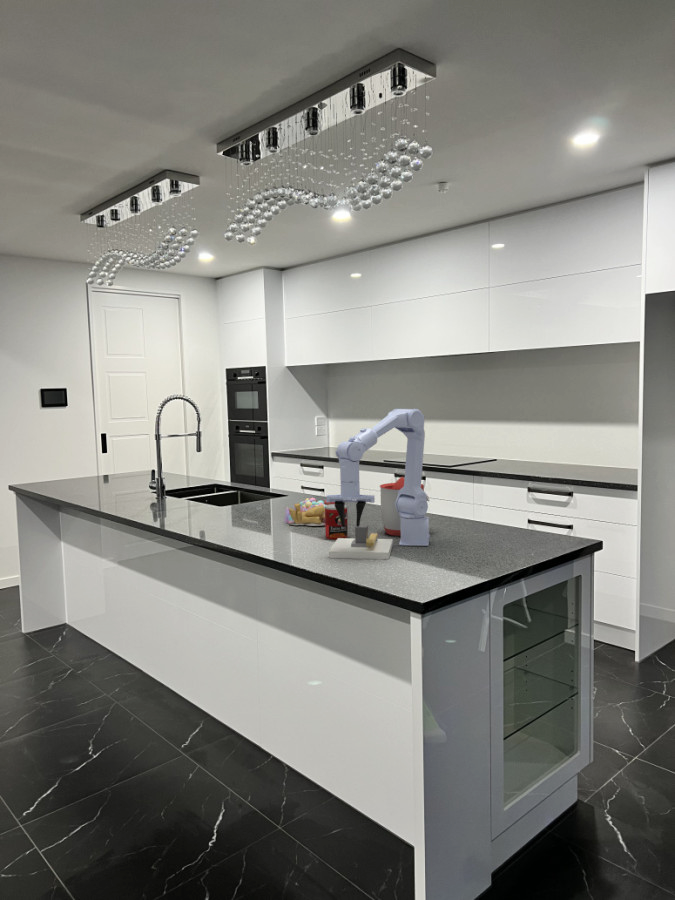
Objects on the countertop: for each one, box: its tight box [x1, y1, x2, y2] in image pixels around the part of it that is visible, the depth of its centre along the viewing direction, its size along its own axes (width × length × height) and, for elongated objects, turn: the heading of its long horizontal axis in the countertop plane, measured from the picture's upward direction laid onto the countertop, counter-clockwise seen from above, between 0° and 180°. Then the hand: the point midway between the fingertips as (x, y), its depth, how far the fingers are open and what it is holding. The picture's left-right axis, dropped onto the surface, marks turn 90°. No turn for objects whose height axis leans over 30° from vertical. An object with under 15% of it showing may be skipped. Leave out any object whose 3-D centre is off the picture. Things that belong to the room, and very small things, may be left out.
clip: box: [366, 532, 378, 546], centre depth 210 cm, size 2×15×3 cm, turn 171°
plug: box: [351, 524, 371, 547], centre depth 210 cm, size 6×6×8 cm
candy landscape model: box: [284, 497, 335, 527], centre depth 260 cm, size 25×24×9 cm
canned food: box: [324, 504, 349, 541], centre depth 230 cm, size 8×8×11 cm
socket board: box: [328, 537, 394, 560], centre depth 210 cm, size 18×18×2 cm
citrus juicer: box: [379, 476, 431, 537], centre depth 234 cm, size 16×17×20 cm
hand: (350, 525), depth 203 cm, fingers open, 4 cm apart
